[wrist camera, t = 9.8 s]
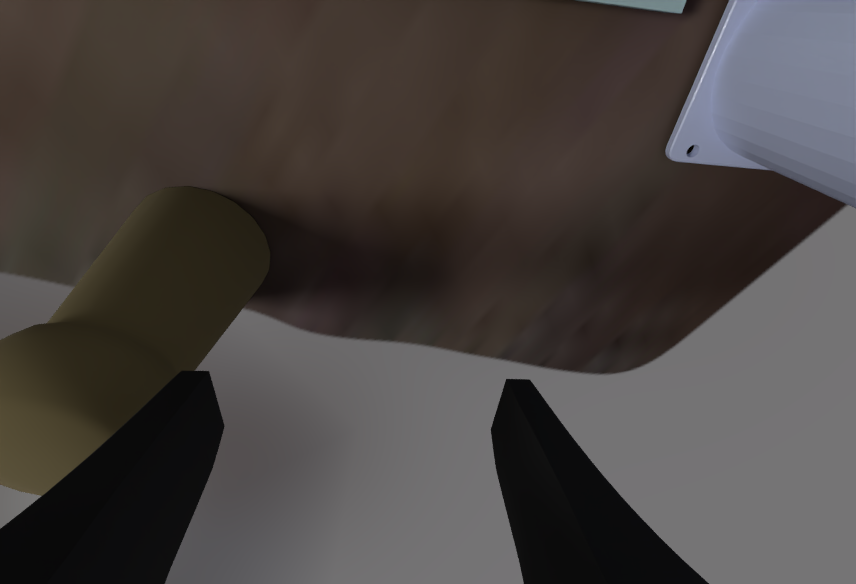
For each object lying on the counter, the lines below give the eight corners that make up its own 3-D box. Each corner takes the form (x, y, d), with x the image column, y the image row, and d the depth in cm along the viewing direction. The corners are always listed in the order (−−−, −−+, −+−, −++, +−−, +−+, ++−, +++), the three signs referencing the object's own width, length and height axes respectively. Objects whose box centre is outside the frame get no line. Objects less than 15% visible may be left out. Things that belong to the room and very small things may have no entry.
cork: (290, 287, 21) (210, 507, 12) (178, 311, 21) (17, 542, 12) (233, 171, 17) (56, 359, 8) (99, 203, 18) (-209, 414, 9)
